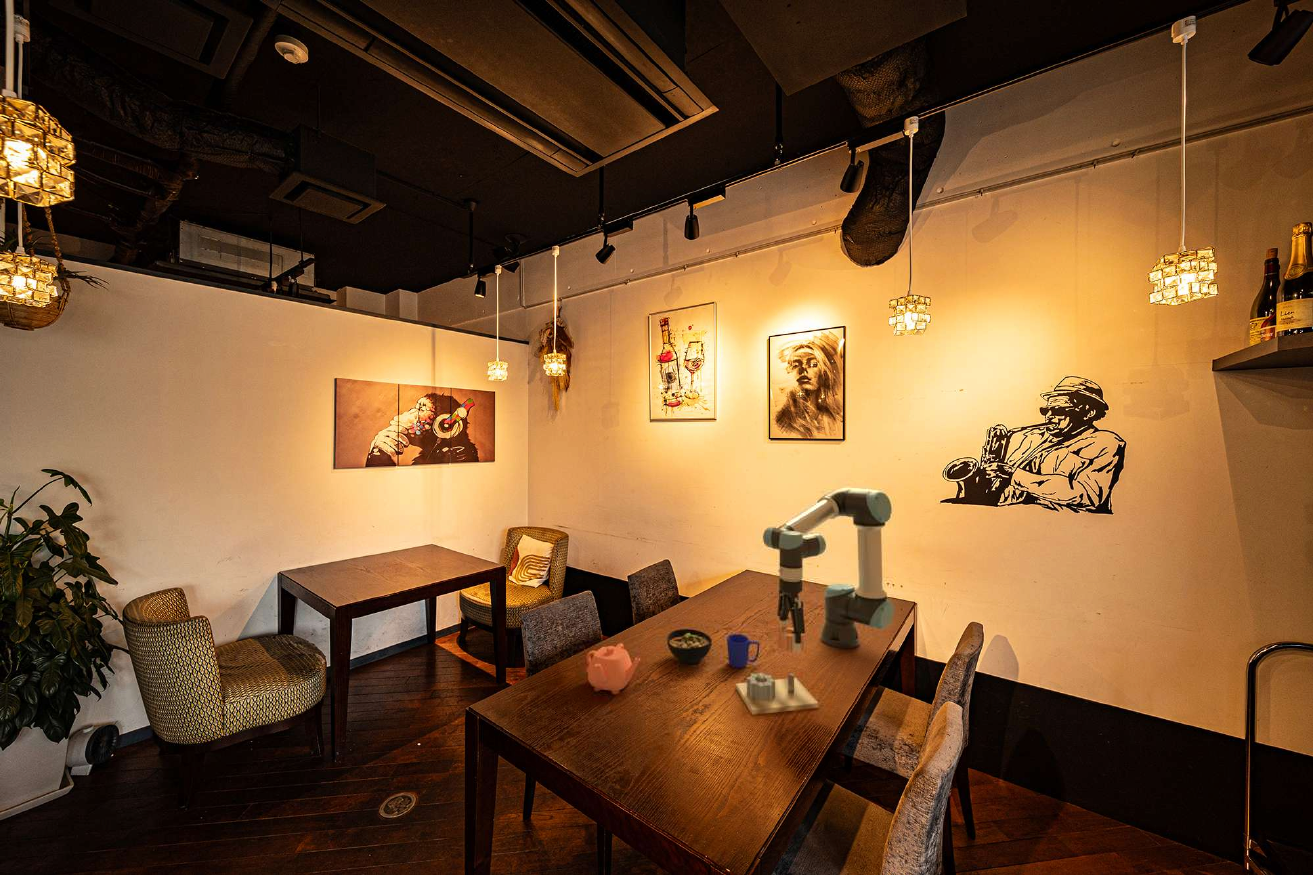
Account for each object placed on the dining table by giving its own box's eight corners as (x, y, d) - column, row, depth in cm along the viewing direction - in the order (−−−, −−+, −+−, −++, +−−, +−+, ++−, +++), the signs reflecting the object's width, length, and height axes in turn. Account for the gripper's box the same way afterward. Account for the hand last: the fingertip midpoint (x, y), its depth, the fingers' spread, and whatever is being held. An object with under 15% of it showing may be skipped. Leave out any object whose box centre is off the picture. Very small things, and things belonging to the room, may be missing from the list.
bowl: (681, 676, 175) (681, 648, 175) (659, 656, 190) (659, 631, 190) (720, 665, 183) (720, 638, 183) (696, 647, 198) (696, 623, 198)
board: (795, 681, 171) (795, 662, 170) (818, 707, 155) (818, 685, 155) (735, 687, 167) (735, 667, 167) (752, 714, 151) (752, 692, 151)
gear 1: (761, 684, 166) (761, 669, 166) (781, 696, 159) (781, 681, 159) (741, 692, 161) (741, 677, 161) (760, 705, 154) (760, 689, 154)
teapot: (642, 690, 166) (641, 651, 166) (596, 704, 157) (595, 663, 157) (621, 670, 180) (621, 634, 180) (578, 682, 171) (577, 644, 171)
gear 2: (796, 640, 168) (797, 625, 168) (809, 651, 159) (809, 636, 159) (772, 641, 166) (772, 627, 166) (782, 653, 157) (783, 637, 157)
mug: (759, 672, 178) (759, 644, 178) (726, 669, 180) (726, 642, 180) (759, 661, 186) (759, 635, 186) (727, 658, 188) (727, 633, 188)
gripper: (767, 570, 173) (767, 633, 173) (794, 589, 151) (793, 661, 151) (787, 569, 174) (787, 632, 174) (816, 588, 152) (816, 659, 152)
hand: (790, 645), depth 163 cm, fingers closed on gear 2, 9 cm apart
